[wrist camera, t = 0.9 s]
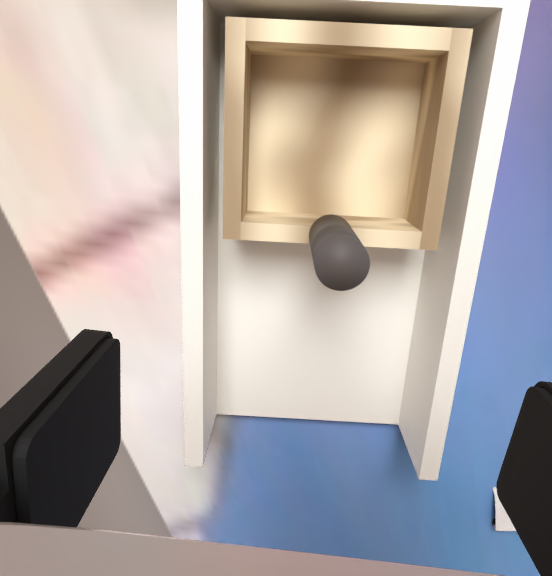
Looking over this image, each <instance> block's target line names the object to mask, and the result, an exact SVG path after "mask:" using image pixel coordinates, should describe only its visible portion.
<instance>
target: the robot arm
mask: <svg viewBox="0 0 552 576" xmlns="http://www.w3.org/2000/svg"><path fill="white" fill-rule="evenodd" d="M120 438H121V423H120V342H119V340H118V339H113V337H112V334H111V332H106V331H97V330H89V329H84V330H82V331H81V332H80V333H79V334H78V335H77V336H76V337H75V338H74V339H73V340H72V341H71V342H70V343H69V344H68V345H67V346H66V347H65V348H63V349H62V350H61V351H60V352H59V353H58V354H57V355H56V356H55V357H54V358H53V359H52V360H51V361H50V362H49V363H48V364H47V365H46V366H45V367H44V368H42V369H41V370H40V371H39V372H38V373H37V374H36V375H35V376H34V377H33V378H32V379H31V380H30V381H29V382H28V383H27V384H26V385H25V386H24V387H23V388H21V389H20V390H19V391H18V392H17V393H16V394H15V395H14V396H13V397H12V398H11V399H10V400H9V401H8V402H7V403H6V404H5V405H4V406H3V407H2V408H0V576H503V575H495V574H486V573H478V572H469V571H461V570H452V569H444V568H435V567H427V566H418V565H410V564H401V563H393V562H384V561H375V560H366V559H358V558H349V557H340V556H331V555H322V554H314V553H305V552H296V551H288V550H279V549H270V548H262V547H253V546H244V545H235V544H226V543H217V542H208V541H199V540H190V539H181V538H172V537H163V536H154V535H144V534H135V533H126V532H117V531H108V530H99V529H90V528H77V526H78V524H79V522H80V520H81V518H82V516H83V515H84V513H85V511H86V509H87V507H88V506H89V503H90V502H91V500H92V498H93V497H94V495H95V493H96V491H97V489H98V487H99V486H100V484H101V482H102V480H103V478H104V476H105V474H106V473H107V471H108V469H109V467H110V465H111V463H112V462H113V460H114V458H115V456H116V454H117V452H118V449H119V445H120ZM496 489H497V495H498V498H499V500H500V502H501V504H502V506H503V507H504V509H505V511H506V513H507V515H508V517H509V518H510V520H511V522H512V524H513V526H514V528H515V529H516V531H517V533H518V535H519V537H520V539H521V540H522V542H523V544H524V546H525V548H526V550H527V551H528V553H529V555H530V557H531V559H532V561H533V562H534V564H535V566H536V568H537V570H538V572H539V573H540V575H541V576H552V383H551V382H542V381H540V382H538V383H537V384H536V385H535V386H534V387H530V388H529V389H528V390H527V392H526V394H525V397H524V400H523V403H522V406H521V410H520V413H519V416H518V419H517V422H516V425H515V428H514V431H513V434H512V437H511V440H510V443H509V446H508V449H507V452H506V455H505V458H504V461H503V464H502V467H501V471H500V474H499V477H498V480H497V486H496Z"/></svg>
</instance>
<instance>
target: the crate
mask: <svg viewBox="0 0 552 576" xmlns="http://www.w3.org/2000/svg"><path fill="white" fill-rule="evenodd" d="M472 34H473V29H468V28H447V27H427V26H407V25H387V24H367V23H346V22H326V21H306V20H286V19H265V18H245V17H225V86H224V162H223V239H233V240H251V241H270V242H288V243H307V244H310V247H311V252H312V258H313V263H314V268H315V272H316V275H317V277H318V279H319V280H320V282H321V283H322V284H323V285H325V286H326V287H328V288H330V289H332V290H336V291H347V290H350V289H353V288H355V287H357V286H358V285H360V284H361V283H362V282H363V281H364V280H365V278H366V277H367V275H368V272H369V269H370V258H369V254H368V252H367V250H366V249H365V247H381V248H399V249H418V250H437V249H438V243H439V237H440V231H441V225H442V218H443V212H444V206H445V200H446V194H447V188H448V182H449V175H450V169H451V163H452V157H453V151H454V145H455V138H456V132H457V126H458V120H459V114H460V108H461V102H462V95H463V89H464V83H465V77H466V71H467V65H468V59H469V52H470V46H471V40H472Z"/></svg>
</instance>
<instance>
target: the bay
mask: <svg viewBox="0 0 552 576" xmlns="http://www.w3.org/2000/svg"><path fill="white" fill-rule="evenodd" d="M529 5H530V0H177V17H178V81H179V145H180V209H181V273H182V337H183V401H184V465H185V466H198V467H203V465H204V461H205V457H206V453H207V449H208V445H209V441H210V437H211V434H212V430H213V426H214V422H215V418H216V414H225V415H243V416H260V417H277V418H295V419H312V420H330V421H347V422H364V423H382V424H398V425H399V428H400V431H401V433H402V436H403V439H404V441H405V444H406V447H407V449H408V452H409V455H410V457H411V460H412V463H413V465H414V468H415V471H416V473H417V476H418V478H419V479H420V480H438V475H439V470H440V465H441V460H442V455H443V449H444V444H445V439H446V434H447V429H448V424H449V418H450V413H451V408H452V403H453V398H454V393H455V387H456V382H457V377H458V372H459V367H460V362H461V356H462V351H463V346H464V341H465V336H466V331H467V325H468V320H469V315H470V310H471V305H472V300H473V294H474V289H475V284H476V279H477V274H478V269H479V264H480V258H481V253H482V248H483V243H484V238H485V233H486V227H487V222H488V217H489V212H490V207H491V202H492V196H493V191H494V186H495V181H496V176H497V171H498V165H499V160H500V155H501V150H502V145H503V140H504V134H505V129H506V124H507V119H508V114H509V109H510V104H511V98H512V93H513V88H514V83H515V78H516V73H517V67H518V62H519V57H520V52H521V47H522V42H523V36H524V31H525V26H526V21H527V16H528V11H529ZM225 17H245V18H265V19H286V20H306V21H326V22H346V23H367V24H387V25H407V26H427V27H447V28H468V29H473V34H472V40H471V46H470V52H469V59H468V65H467V71H466V77H465V83H464V89H463V95H462V102H461V108H460V114H459V120H458V126H457V132H456V138H455V145H454V151H453V157H452V163H451V169H450V175H449V182H448V188H447V194H446V200H445V206H444V212H443V218H442V225H441V231H440V237H439V243H438V249H437V250H418V249H399V248H381V247H365V249H366V250H367V252H368V254H369V258H370V269H369V272H368V275H367V277H366V278H365V280H364V281H363V282H362V283H361V284H360V285H358V286H357V287H355V288H353V289H350V290H347V291H336V290H332V289H330V288H328V287H326V286H325V285H323V284H322V283H321V282H320V280H319V279H318V277H317V275H316V272H315V268H314V263H313V258H312V252H311V247H310V244H307V243H288V242H270V241H251V240H233V239H223V162H224V86H225Z"/></svg>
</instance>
